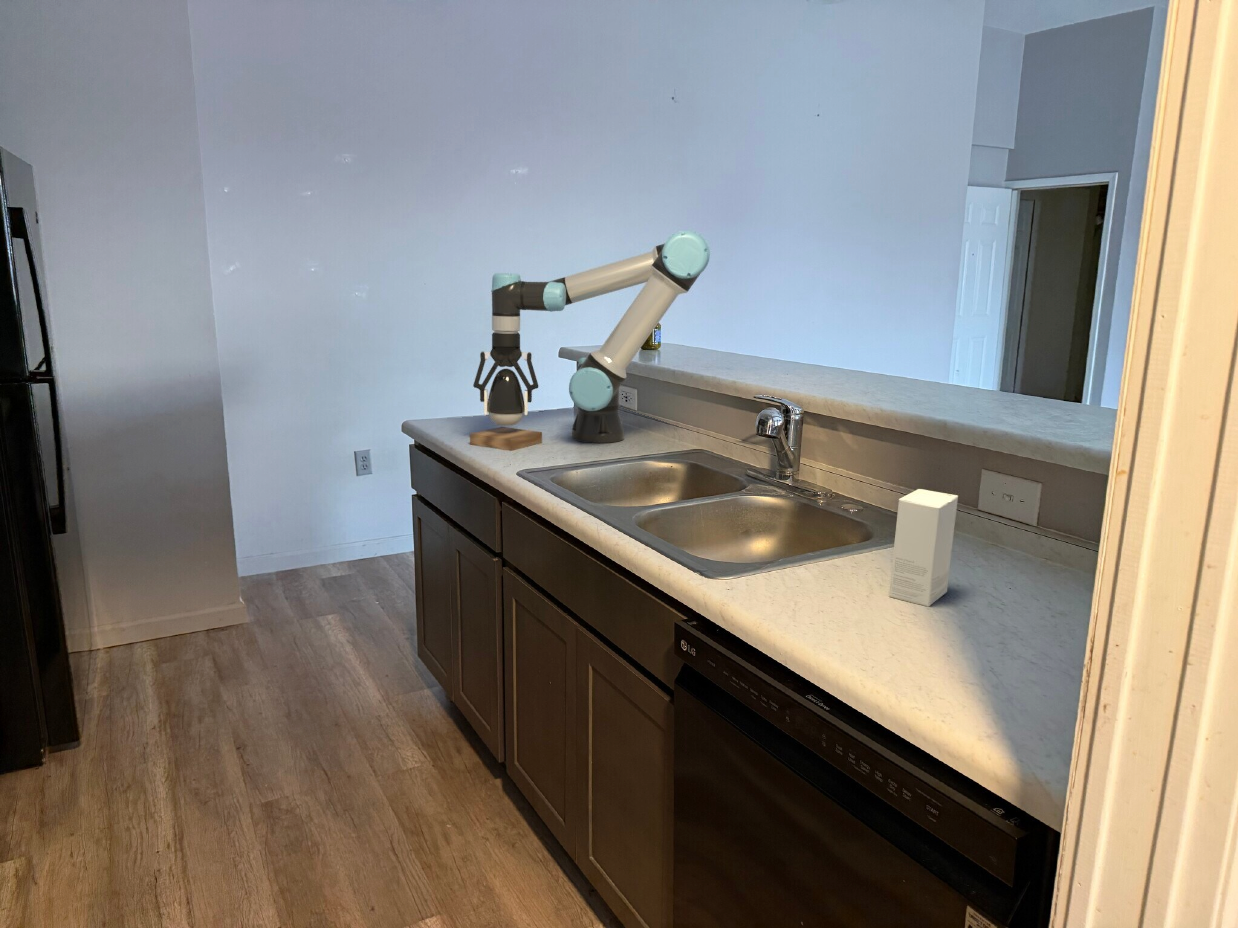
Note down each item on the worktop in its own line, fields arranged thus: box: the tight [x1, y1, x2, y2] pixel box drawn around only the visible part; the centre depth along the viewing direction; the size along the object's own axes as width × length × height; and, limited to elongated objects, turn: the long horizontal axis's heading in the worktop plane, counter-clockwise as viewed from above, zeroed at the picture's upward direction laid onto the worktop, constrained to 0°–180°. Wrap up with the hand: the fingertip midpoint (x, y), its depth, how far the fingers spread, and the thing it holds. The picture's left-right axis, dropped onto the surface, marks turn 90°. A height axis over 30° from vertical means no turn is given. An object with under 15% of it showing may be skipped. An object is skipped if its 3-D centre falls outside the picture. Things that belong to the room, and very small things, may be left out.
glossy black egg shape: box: [487, 368, 525, 426], centre depth 242 cm, size 10×10×15 cm
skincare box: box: [888, 488, 959, 607], centre depth 134 cm, size 8×7×16 cm
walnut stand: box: [469, 426, 543, 451], centre depth 245 cm, size 14×14×3 cm
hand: (506, 414), depth 243 cm, fingers closed on glossy black egg shape, 10 cm apart
